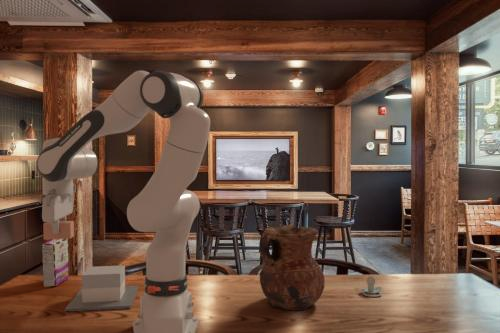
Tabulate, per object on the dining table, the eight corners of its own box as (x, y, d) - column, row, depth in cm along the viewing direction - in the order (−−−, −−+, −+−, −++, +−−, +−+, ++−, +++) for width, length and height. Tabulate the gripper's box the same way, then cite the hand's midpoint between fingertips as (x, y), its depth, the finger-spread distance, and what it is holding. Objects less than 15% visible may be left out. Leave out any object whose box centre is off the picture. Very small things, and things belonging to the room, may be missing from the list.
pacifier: (384, 298, 140) (379, 291, 146) (384, 280, 139) (379, 274, 145) (362, 298, 140) (358, 291, 146) (363, 280, 140) (359, 274, 146)
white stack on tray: (130, 308, 130) (130, 277, 130) (64, 312, 127) (64, 280, 127) (138, 288, 150) (138, 261, 149) (81, 290, 147) (81, 263, 147)
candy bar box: (57, 278, 162) (56, 237, 161) (69, 278, 162) (68, 237, 161) (42, 287, 150) (41, 243, 150) (55, 287, 150) (54, 243, 150)
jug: (278, 288, 149) (278, 220, 149) (333, 298, 139) (334, 225, 138) (247, 308, 130) (247, 230, 130) (308, 322, 120) (308, 237, 119)
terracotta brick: (70, 238, 129) (70, 222, 129) (43, 239, 128) (43, 223, 127) (74, 236, 133) (73, 220, 133) (48, 237, 132) (47, 221, 131)
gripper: (58, 191, 120) (59, 237, 120) (76, 186, 140) (77, 226, 141) (35, 191, 119) (36, 238, 119) (57, 186, 139) (58, 226, 140)
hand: (59, 231), depth 130 cm, fingers closed on terracotta brick, 4 cm apart
